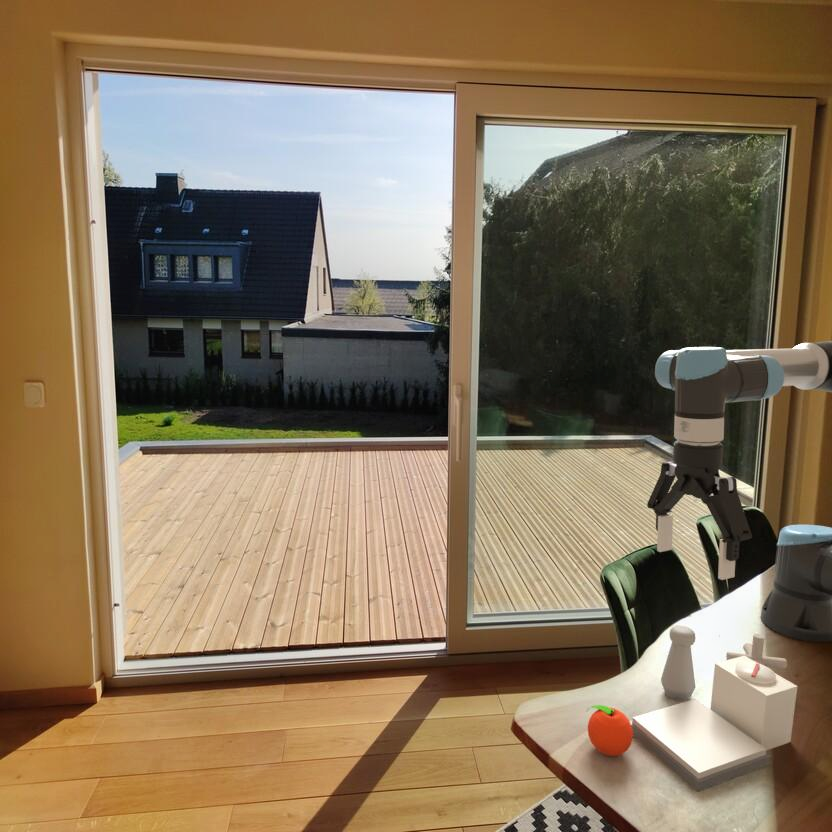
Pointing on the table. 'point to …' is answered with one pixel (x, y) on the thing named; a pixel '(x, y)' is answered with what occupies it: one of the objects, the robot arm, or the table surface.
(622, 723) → the clementine
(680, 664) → the salt shaker
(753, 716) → the dial scale
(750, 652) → the pipe connector
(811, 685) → the table surface
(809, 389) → the robot arm
